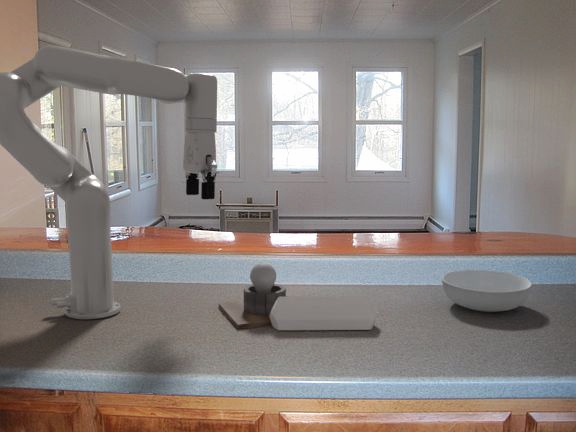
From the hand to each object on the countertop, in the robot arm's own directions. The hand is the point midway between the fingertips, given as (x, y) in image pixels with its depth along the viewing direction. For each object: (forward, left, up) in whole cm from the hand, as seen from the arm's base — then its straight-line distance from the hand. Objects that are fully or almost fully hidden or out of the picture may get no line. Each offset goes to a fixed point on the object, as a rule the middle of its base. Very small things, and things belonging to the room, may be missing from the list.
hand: (200, 196), depth 159 cm
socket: (+12, -14, -27) cm, 32 cm away
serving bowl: (+64, -27, -27) cm, 74 cm away
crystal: (+21, -27, -27) cm, 44 cm away
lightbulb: (+12, -14, -26) cm, 31 cm away
